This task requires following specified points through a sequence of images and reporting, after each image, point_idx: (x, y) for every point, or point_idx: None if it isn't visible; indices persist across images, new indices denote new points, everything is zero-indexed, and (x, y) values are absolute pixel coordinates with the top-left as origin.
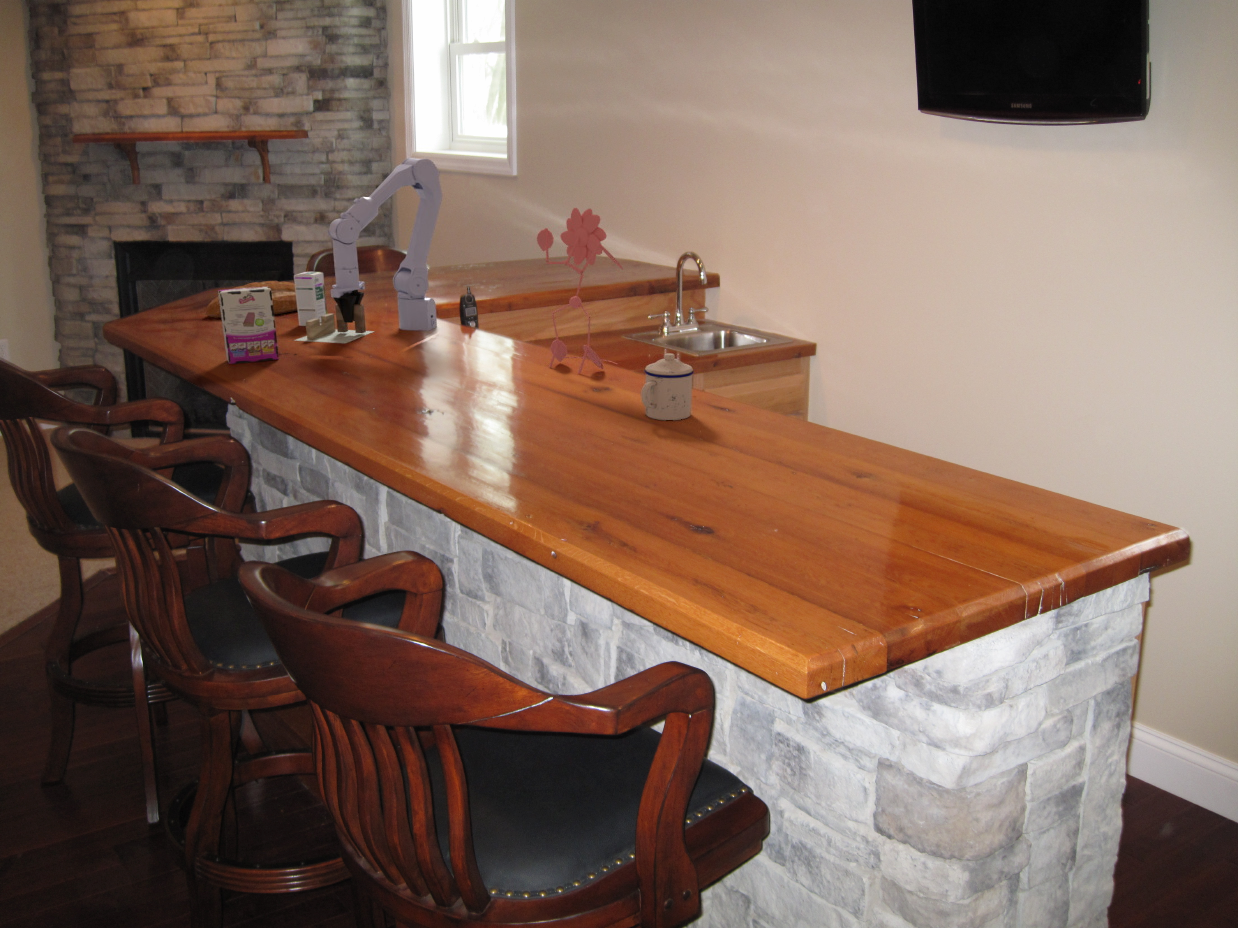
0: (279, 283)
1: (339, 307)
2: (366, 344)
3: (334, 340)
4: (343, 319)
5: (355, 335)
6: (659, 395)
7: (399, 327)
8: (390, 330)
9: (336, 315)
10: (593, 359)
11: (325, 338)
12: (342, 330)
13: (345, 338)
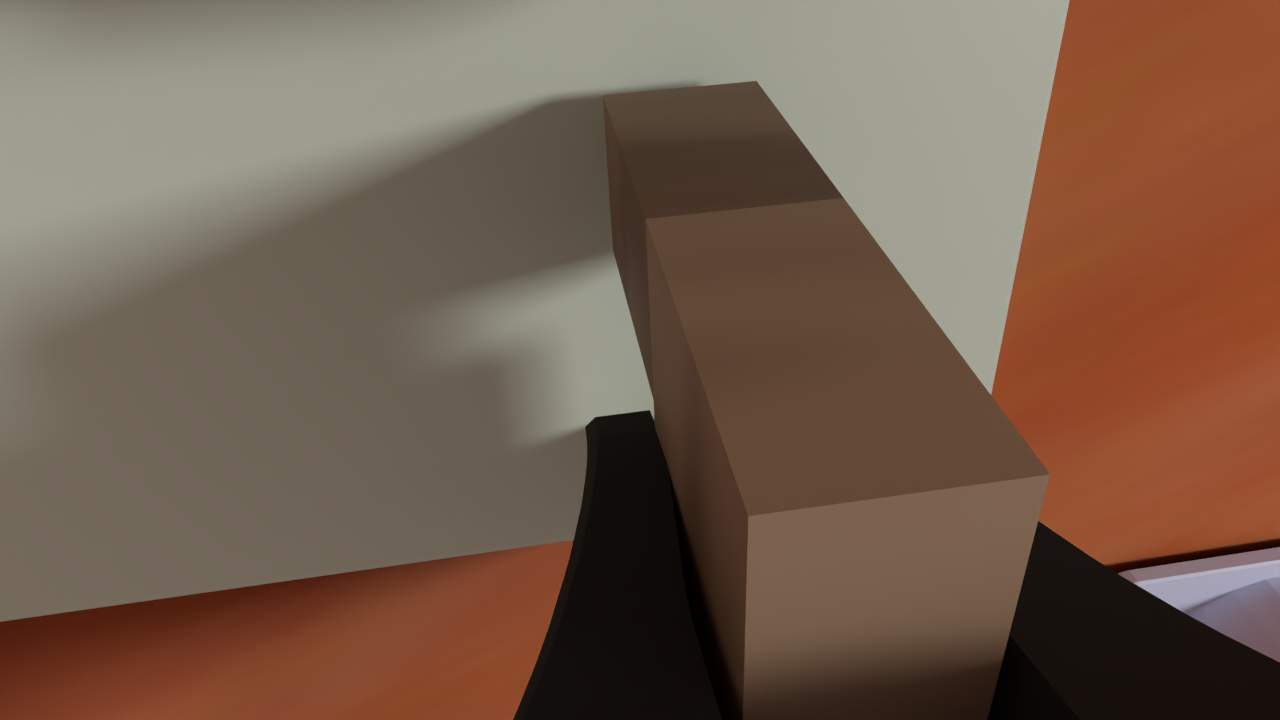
0: None
1: (521, 717)
2: (282, 693)
3: (12, 383)
4: (594, 451)
5: (582, 432)
6: None
7: (1229, 611)
8: (1260, 466)
9: (667, 293)
10: None
11: (58, 114)
12: (613, 228)
13: (279, 438)
